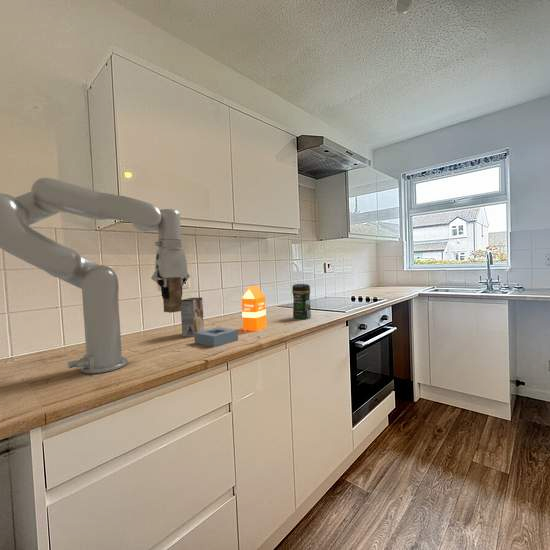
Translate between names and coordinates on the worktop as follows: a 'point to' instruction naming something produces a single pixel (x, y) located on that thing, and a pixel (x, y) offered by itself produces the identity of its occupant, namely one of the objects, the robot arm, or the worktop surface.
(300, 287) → the coffee jar
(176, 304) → the peg
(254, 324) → the orange juice
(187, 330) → the coffee box
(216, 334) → the socket block
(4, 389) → the worktop surface
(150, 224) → the robot arm
